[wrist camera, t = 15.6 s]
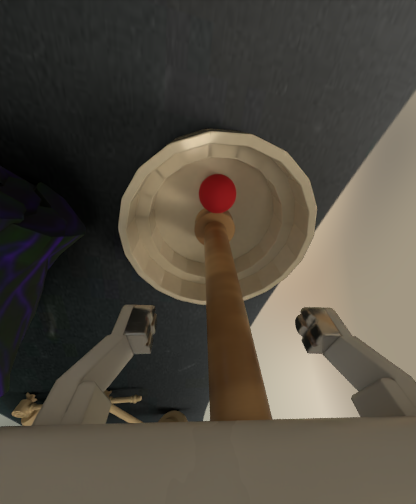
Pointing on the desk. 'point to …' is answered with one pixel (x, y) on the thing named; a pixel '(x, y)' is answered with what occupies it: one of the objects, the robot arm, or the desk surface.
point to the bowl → (243, 210)
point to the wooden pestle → (228, 328)
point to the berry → (217, 193)
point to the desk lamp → (30, 410)
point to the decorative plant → (27, 255)
